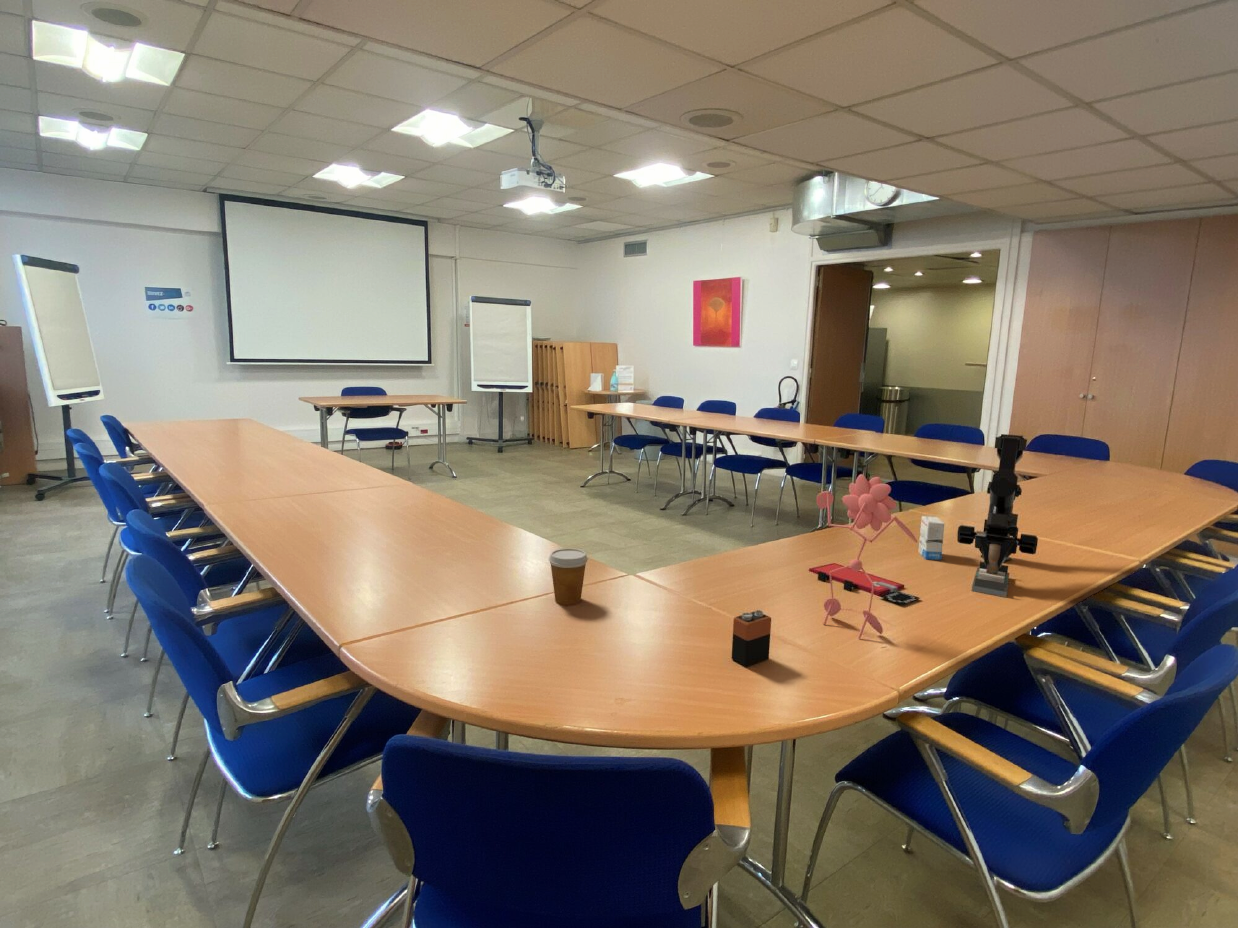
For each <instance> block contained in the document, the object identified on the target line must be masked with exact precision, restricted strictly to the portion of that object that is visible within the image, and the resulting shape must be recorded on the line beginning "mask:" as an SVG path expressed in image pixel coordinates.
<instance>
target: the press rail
mask: <svg viewBox="0 0 1238 928" xmlns="http://www.w3.org/2000/svg"><path fill="white" fill-rule="evenodd" d="M980 568H981V569H987V566H985V563H984V561H979V567H976V570H975V571H976V572H975V574H974V578H973V581H972V584H971V592H975V593H980V594H981V593H982V594H985V595H992V596H998V597H1001V598H1002V597H1003V598H1007V594H1008V588H1009V579H1010V572H1008V571H1009V565H1004V564H1002V566H1001V567H1000V568H998V571H999V572H1004V573H1005V578H1004V583H1001V582H995V581H990V580H984V579H978V573H979V569H980Z"/></svg>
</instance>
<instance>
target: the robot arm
mask: <svg viewBox="0 0 1238 928" xmlns="http://www.w3.org/2000/svg"><path fill="white" fill-rule="evenodd" d="M994 442H995V443H994V449H996V456H997V458H998V461H999V463H998V470H997V471H996V472H994V473H993V474H992V479H991V481H988V484H987V490H986V494H989V506H988V510H987V511H988V512H987V519H986V518H984V522H983V523H984V525H983V530H976V531H975V526H971V525H965V524H960V525H959V526H958V528H957V531H956V532H957V533H956V534H957V536H956V537H957V539H956V540H957V543H958V544H964V545H972V544H973V543H974V548H975V549H978V550H979V552H980V554H981V555H980V558H982V560H983V562H984V563H985V566H987V562H988V554H989V546H990V544H997V545H1000V546H1001V549H1000V557H999V564H998V568H1000V567H1001V566H1002V565H1004V563H1005V562H1008V561H1011V560H1012V559H1013V557H1010V556H1011V555H1012V554H1013V555H1015V554H1017V550H1018V551H1019V552H1021V553H1022V554H1027V555H1036V553H1037V548H1038V540H1039V538H1038V536H1037V535H1035V534H1028V533H1020V537H1018V535H1019V534H1018V533H1019V528H1018V518H1019V514H1017V513H1013V510H1014V502H1015V500H1016V498H1019V497H1020V496H1022V490H1023V488H1021V486H1020V484H1018V479H1019V476H1018V475H1017V474H1016V473H1015V471H1016V465H1017V463H1019V461H1020V460H1021V459H1022V458H1023V455H1024V454H1023V453H1024V452H1026V451H1027V443H1028V439H1026V438H1024V435H1021V434H1019V435H1018V434H1004V433H1001V434H1000V435H999V436H995V441H994Z"/></svg>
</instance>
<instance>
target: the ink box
mask: <svg viewBox="0 0 1238 928" xmlns="http://www.w3.org/2000/svg"><path fill="white" fill-rule="evenodd" d="M920 521H921V522H920V531H919V532H920V533H919V543H918V553H919V554H920V555H921V556H922V557H923V558H924V559H925V560H932V561H933V560H935V561H942V558H943V557H942V555H943V545H944V534H945V523H944V522H943V521H942V520H941V519H940V518H939V517H937V516H925V515H922V516H921V520H920Z"/></svg>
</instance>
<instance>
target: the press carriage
mask: <svg viewBox="0 0 1238 928" xmlns="http://www.w3.org/2000/svg"><path fill="white" fill-rule="evenodd" d="M1000 549H1001V546H1000V545H997V544H990V546H989V554H988V562H987V569H981V568H980V569H979V573H978V579H984V580H990V581H995V582H1001V583H1004V578H1005V573H1004V572H999V571H998V564H999V557H1000Z"/></svg>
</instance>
